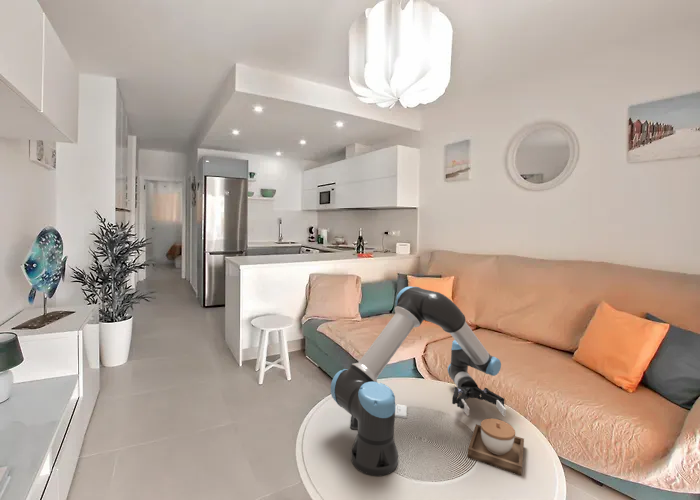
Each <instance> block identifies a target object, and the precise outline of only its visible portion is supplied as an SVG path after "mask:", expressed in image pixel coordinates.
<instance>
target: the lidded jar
mask: <svg viewBox="0 0 700 500" xmlns="http://www.w3.org/2000/svg"><path fill="white" fill-rule="evenodd" d="M480 426H481V438H482V441H483V443H484V445H485V446H486V447H487V449H488V450H489V451H490V452H491V453H493V454H496V455H504V454H505V453H507V452H509V451H510V450H511V448H512V446H513V443H514V437H515V436H516V430H515V428H514V427H513V426H512V425H511V424H510V423H507V421H503V420H502V419H498V418H484V419H483V420H481V422H480Z"/></svg>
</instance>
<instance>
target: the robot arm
mask: <svg viewBox="0 0 700 500" xmlns="http://www.w3.org/2000/svg"><path fill="white" fill-rule="evenodd" d="M394 312H395V313H394V314H393V316H392V317H391V319H390V320H389V321H388V323H387V324H386V325H385V327H384V328H383V329H382V331H381V332H380V334H379V335H378V336H377V337H376V338H375V340H374V341H373V342H372V344H371V346H370V347H369V348H368V350H366V352H365V353H364V354H363V356H362V357H361V358H360V360H359V361H358V362H356V363H354V362H353V363H351V365H350V366H349V367H348V368H347V369H346V368H343V369H342V370H339V371H337V372H336V373H335V375H334V376H333V378H332V380H331V384H330V396H331V398H332V399H333V401H334V402H335V403H336V404H337V405H338V406H339V407H340V408H342V409H344V410H345V411H346V412H347V413H349V414H350V415H351V416H353V417H355V418H356V419H357V420H358V430H357V434H356V437H355V440H354V442H353V445H352V449H351V453H350V454H351V459H350V460H351V463H352V465H353V467H355V469H357V470H358V471H359V472H360V473H363V474H366V475H369V476H374V477H376V476H377V477H379V476H386V475H389V474H391V473H393V472H394V471H395V470H396V469H397V467H398V463H399V452H398V449H397V445H396V441H395V437H394V435H395V418H396V417H395V409H396V408H395V407H396V396H395V393H394V391H393V390H392V388H390V387H389V386H388V385H386V384H385V383H382V382H378V378H379V375H381V373H382V372H383V371H384V369H385V368H386V366H387V365H388V364H389V363H390V361H391V359H392V358H393V357H394V355H395V354H396V352H397V351H398V349H399V348H400V347H401V346H402V344H403V343H404V341H405V340H406V339H407V337H408V336H409V334H410V333H411V331H413V329H414V328H419V327H420V326H421V324H422V323H423V322H424V321H425V322H429V323H431V324H435V325H436V326H438V327H440V328H441V329H442V330H443V331H444V332H445V333H447V334H449V335H451V337H452V338H453V341H452V343H451V349H450V351H451V352H450V363H449V364H448V366H447V373H448V376H449V377H450V379H451V380H452V381H453V382H454V384H455V385H456V386H454V388H453V389H454V392H453V395H452V401H451V404H453V405H456V406H457V408H460V409H462V410H463V412H464V413H465V414H466V416H470V407H469V405H468V404H467V402H466V400H468V399H478V400H481V401H486V402H488V403H490V404H493V405H495V408H496V409H497V410H498V412H500V414H501V415H502V416H503V417H507V408H506V407H505V398H504V397H502V396H500V395H499V394H496V393H495V392H493V391H491V390H490V389H489V388H488V387H484V388H483V389H481V388H480V387H479V386H478V384H477V382H476V381H475V380H474V379H473V378H474V377H472V376H471V375H470V373H469V372H468V370H469V369H468V368H469V367H470V368H473V369H475V370H477V371H480V372H482V373H485V374H486V375H490V376H492V377H493V376H494V377H495V376H498V374H499V373H500V372H501V368H502V363H501V360H500V358H497V357H495V356H493V355H491V354H490V353H489V351H488V350H487V349H486V347H485V346H484V344H483V343H482V342H481V341H480V339H479V338H478V336H477V335H476V334H475V332H474V331H473V330H472V328H471V327H470V325H469V324H468V323H467V322H466V320H467V319H466V315H465V314H464V313H463V312H462V310H461V309H460V307H458V305H457V304H455V303H454V302H453V300H451V299H450V297H447V296H446V295H445V294H443V293H441V292H437V291H433V290H429V289H426V288H421V287H419V286H406V287H403V288H402V289H401V290H400V291H399V292H398V293H397V295H396V300H395V307H394Z"/></svg>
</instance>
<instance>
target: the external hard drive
mask: <svg viewBox="0 0 700 500" xmlns="http://www.w3.org/2000/svg"><path fill="white" fill-rule="evenodd" d="M395 404H396V403H395ZM395 408H396V409H395V418H398V419H399V418H400V419H406V420H407V418H408V414H407V412H408V411H407V409H408V408H407V404H406V405H404V404H398V403H397V404H396V407H395Z"/></svg>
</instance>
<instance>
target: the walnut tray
mask: <svg viewBox="0 0 700 500" xmlns="http://www.w3.org/2000/svg"><path fill="white" fill-rule="evenodd" d="M524 443H525V438H523V437H521V436H516V435H515V437H514V443H513V446H512V448H511V450H510V451H509V452H507V453H505V454H504V455H496V454H493V453H491V452H490V451H489V450H488V449H487V447H486V446H485V445H484V443H483V441H482V438H481V424H477V423H476V424H475V426H474V430H473V432H472V436H471V439H470V441H469V444H468V448H467V458H469V459H472V460H473V461H474V460H475V461H477V462H480V463H482V464H486V465H488V466H492V467H495V468H497V469H499V470H503V471H505V472H508V473H511V474H514V475H517V476H520V477H522V473H523V460H524V458H523V457H524V447H525V445H524Z"/></svg>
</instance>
